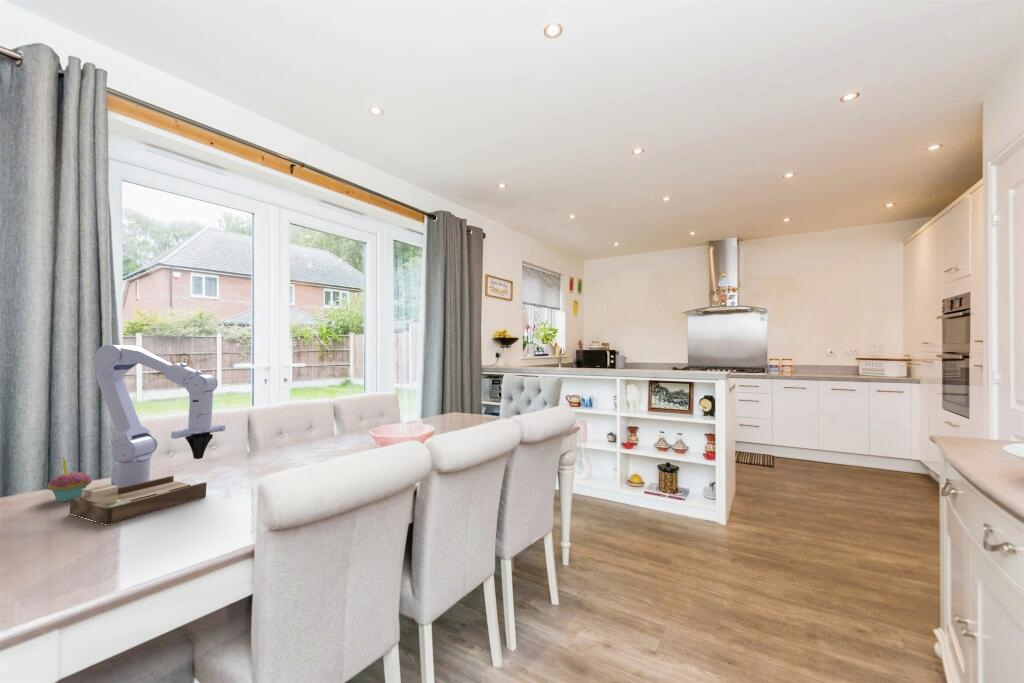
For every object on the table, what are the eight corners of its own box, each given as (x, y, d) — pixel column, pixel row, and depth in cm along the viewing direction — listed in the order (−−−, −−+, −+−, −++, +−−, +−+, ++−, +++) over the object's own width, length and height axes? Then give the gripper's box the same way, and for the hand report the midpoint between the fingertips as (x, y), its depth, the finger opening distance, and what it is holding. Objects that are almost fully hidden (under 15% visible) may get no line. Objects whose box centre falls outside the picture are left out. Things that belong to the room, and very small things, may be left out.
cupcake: (67, 504, 113) (69, 459, 113) (36, 503, 113) (39, 458, 113) (99, 494, 121) (101, 452, 122) (70, 493, 122) (73, 451, 122)
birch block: (81, 505, 106) (82, 489, 107) (105, 499, 111) (106, 483, 111) (92, 508, 105) (93, 492, 105) (117, 501, 109) (118, 486, 109)
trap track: (69, 514, 106) (70, 498, 106) (170, 488, 128) (171, 475, 128) (106, 525, 101) (107, 508, 101) (205, 496, 122) (206, 482, 122)
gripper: (183, 417, 121) (180, 465, 120) (232, 412, 134) (230, 454, 134) (167, 415, 123) (165, 462, 123) (217, 410, 137) (215, 452, 136)
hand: (198, 458), depth 128 cm, fingers closed
